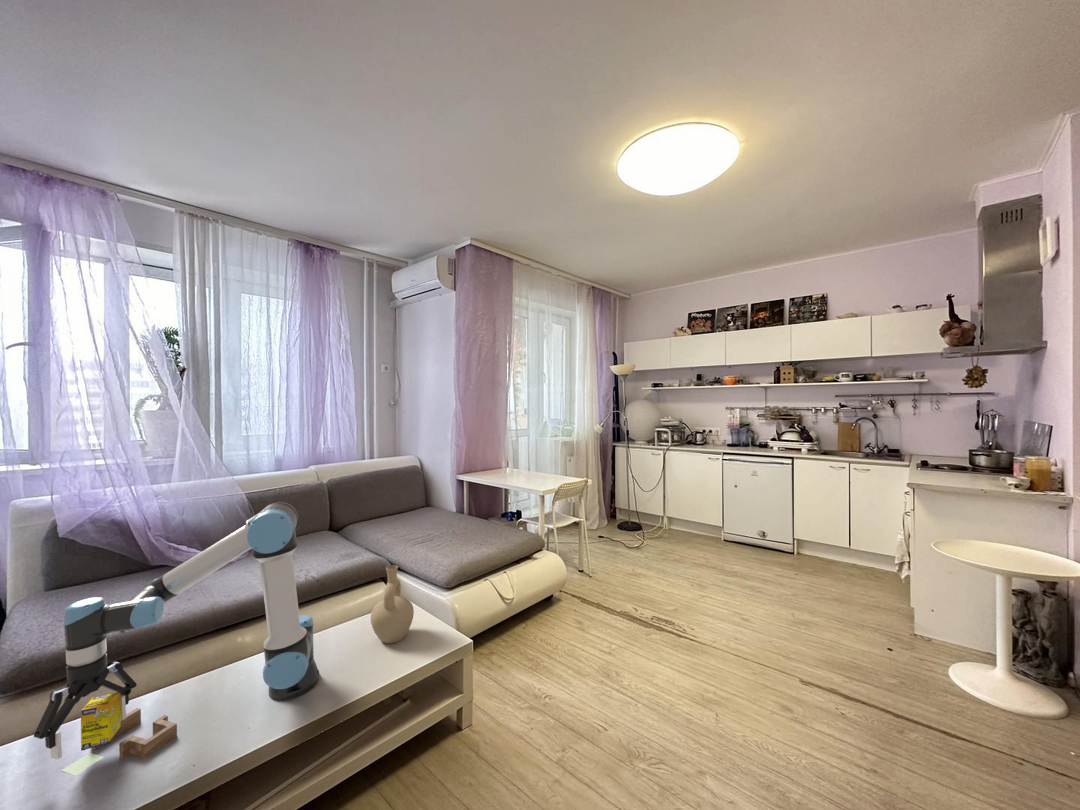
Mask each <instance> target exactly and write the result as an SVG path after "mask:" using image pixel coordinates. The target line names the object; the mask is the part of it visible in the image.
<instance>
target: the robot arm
mask: <svg viewBox="0 0 1080 810" xmlns="http://www.w3.org/2000/svg"><path fill="white" fill-rule="evenodd" d="M298 523H299V514H298V511H297V510H296V508H295V507H294V506H293V505H291V504H290V503H286V502H284V501H283V502H282V501H281V502H280V501H279V502H274V503H270V504H268V505H267V506H265V507H264V508H263V509H261V511H259V512H258V513H257V514H255V515H253V516H252V517H250V518H249V519H247V520H246V522H245V525H243V526H241V527H240V528H238V529H237V530H235V531H233V532H232V533H230V534H229V535H227V536H225V537H223V538H222V539H220V540H219V541H217V542H215V543H214V544H212V545H210V546H209V547H207V548H205V549H204V550H203V551H201V552H199V553H197V554H196V555H194V556H193V557H190V558H189V559H188V560H186V561H184V562H183V563H181V564H180V565H178V566H175V567H174V568H172V569H171V570H169V571H167V572H166V573H164V574H163V575H162V576H159V577H158V578H155V579H153V580H151V581H150V582H148V583H147V584H145V585H144V586H143V587H142V588H141V589H140V590H139V591H138V592H137V593H136V594H134V595H133V596H132V597H131V598H130V599H128V600H126V601H122V602H117V603H108V604H106V599H105V598H104V597H101V596H100V597H99V596H98V597H97V596H96V597H95V596H93V597H88V598H84V599H81V600H78V601H76V602H73V603H71V604H70V605H68V606H67V607H66V608H65V609H64V618H63V619H64V621H63V627H64V638H65V639H64V640H65V664H66V665H67V666H66V667H65V669H66V670H65V671H66V681H67V685H66V686H65V688H62V689H60V690H53V691H51V692H50V694H49V702H48V705H47V706H46V708H45V710H44V712H43V714H42V717H41V719H40V720H39V723H38V726H37V728H36V730H35V732H34V734H33V737H34V738H35V739H40V740H43V739H44V740H45V741H44V742H45V747H46V749H49V750H50V758H52V759H55V760H59V759H61V758H62V757H63V755H62V754H63V752H62V751H63V750H62V749H63V748H62V732H61V731H59V729H60V727H61V726H62V725H63V724H64V722H65V720H66V718H68V715H69V714H70V713H71V711H72V710H73V709H74V707H75V705H76V704H78V703H79V702H80V700H81V698H85V697H87V696H89V695H90V694H92V693H93V692H96V691H99V688H101V687H102V688H106V689H109V690H111V691H113V692H114V693H117V692H120V720H124V719H126V714H127V712H126V711H127V710H126V707H127V705H128V704H129V702H130V700H129V697H130V696H129V695H130V694H131V693H132V689H134V688H136V687H137V683H136V681H135V680H134V679H133V677H131V676H130V675H129V674H128V673H127V671H125V670H124V669H123V668H124V667H123V663H122V662H119V661H113V662H112V663H111V664H110V665H109V666H108V653H106V652H108V649H107V647H108V646H107V645H108V644H107V634H112V633H118V632H123V631H125V632H126V631H130V630H135V629H142V628H145V627H149V626H154V625H156V624H157V623H158V622H159V621H160V620H161V619H162V616H163V613H164V606H165V605H164V604H166V603H167V602H169V601H170V600H172V599H174V598H176V597H177V596H178V595H179V594H181V593H182V592H184V591H186V590H187V589H189V588H190V587H192V586H194V585H195V584H197V583H199V582H200V581H202V580H204V579H205V578H207V577H208V576H210V575H211V574H213V573H214V572H216V571H218V570H220V568H222V567H224V566H225V565H228V563H230V562H232V561H234V560H235V559H237V558H239V557H240V556H242V555H243V554H245V553H247V552H248V551H250V550H251V549H252V556H253V557H252V558H253V559H254V560H256V561H258V562H259V565H260V574H261V583H262V590H263V591H262V592H263V599H264V600H263V601H264V608H265V617H266V627H267V634H268V637H267V638H266V639H265V640H264V641H263V655H264V661H265V662H264V667H263V669H262V679H263V682H264V683H265V684H266V685H267V687H268V697H269V699H271V700H274V701H277V702H280V701H281V702H283V701H284V702H285V701H288V700H289V701H290V700H293V699H296V698H300V697H302V696H304V695H305V694H307V693H309V692H310V691H312V690H313V689H314V688H315V687H316V686H317V685H318V684H319V682H320V677H321V676H320V675H321V674H320V671H319V668H318V667H317V665H318V664H317V663H316V661H315V658H314V625H315V623H314V619H313V617H312V616H311V615H308V614H303V615H301V614H300V610H299V603H298V601H299V600H298V593H297V592H298V591H297V584H296V577H295V576H296V575H295V566H294V565H295V564H294V558H293V557H294V556H293V553H294V552H295V551H296V550H297V548H298V541H297V533H296V527H297V525H298ZM109 673H113V674H114V675H115V676H116V678H118V679H119V680H120V682H121V683H123V685H124V687H123V686H121V685H119V684H116V683H115V682H112V681H109V680H107V679H106V678H107V677H108V675H109ZM66 694H67V695H66ZM65 696H66V697H65ZM63 699H64V702H63ZM62 702H63V703H62ZM60 706H61V707H60Z"/></svg>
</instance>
